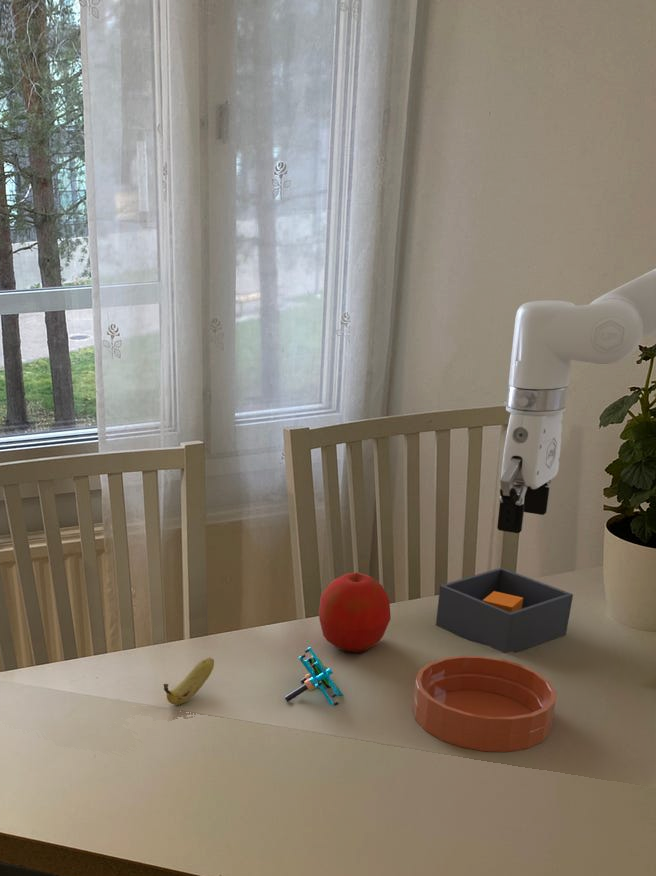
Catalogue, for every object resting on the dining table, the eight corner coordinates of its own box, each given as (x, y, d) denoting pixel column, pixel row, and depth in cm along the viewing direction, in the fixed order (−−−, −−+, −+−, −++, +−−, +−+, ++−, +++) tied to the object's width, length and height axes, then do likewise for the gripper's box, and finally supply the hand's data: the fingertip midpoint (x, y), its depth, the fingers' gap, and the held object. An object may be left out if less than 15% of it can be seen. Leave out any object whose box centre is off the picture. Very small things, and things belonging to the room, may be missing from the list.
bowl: (475, 678, 123) (480, 645, 121) (578, 730, 110) (585, 694, 108) (385, 711, 116) (388, 676, 114) (484, 771, 103) (490, 733, 101)
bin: (495, 605, 145) (501, 567, 142) (566, 634, 135) (573, 594, 132) (435, 624, 139) (439, 585, 136) (504, 656, 129) (510, 614, 126)
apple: (315, 630, 138) (318, 559, 133) (383, 631, 137) (388, 559, 132) (319, 660, 129) (322, 585, 124) (391, 662, 128) (398, 586, 123)
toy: (490, 617, 140) (493, 590, 138) (519, 625, 137) (523, 597, 135) (478, 627, 136) (482, 600, 134) (508, 635, 134) (512, 607, 132)
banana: (204, 680, 124) (204, 654, 123) (219, 685, 123) (219, 658, 121) (157, 709, 117) (156, 682, 116) (172, 715, 116) (171, 687, 114)
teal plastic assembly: (350, 702, 113) (315, 650, 113) (303, 732, 115) (268, 681, 114) (344, 682, 125) (313, 636, 125) (302, 709, 126) (270, 663, 126)
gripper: (542, 413, 114) (526, 543, 121) (586, 390, 126) (569, 510, 133) (483, 408, 118) (471, 534, 125) (531, 386, 130) (518, 503, 137)
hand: (522, 521), depth 129 cm, fingers open, 9 cm apart
